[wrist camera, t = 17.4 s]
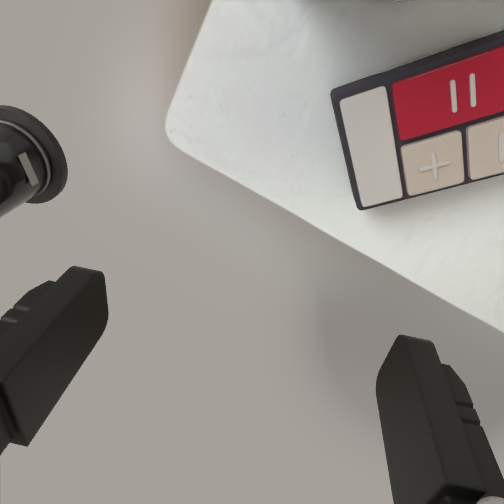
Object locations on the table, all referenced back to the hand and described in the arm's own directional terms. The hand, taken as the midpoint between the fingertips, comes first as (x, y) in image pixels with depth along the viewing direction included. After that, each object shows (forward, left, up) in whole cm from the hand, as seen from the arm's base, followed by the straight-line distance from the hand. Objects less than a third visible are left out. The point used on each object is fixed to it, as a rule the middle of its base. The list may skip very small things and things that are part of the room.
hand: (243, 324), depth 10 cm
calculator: (+12, 0, -30) cm, 32 cm away
